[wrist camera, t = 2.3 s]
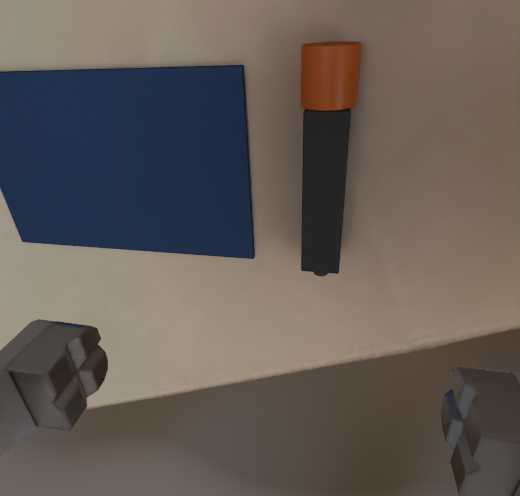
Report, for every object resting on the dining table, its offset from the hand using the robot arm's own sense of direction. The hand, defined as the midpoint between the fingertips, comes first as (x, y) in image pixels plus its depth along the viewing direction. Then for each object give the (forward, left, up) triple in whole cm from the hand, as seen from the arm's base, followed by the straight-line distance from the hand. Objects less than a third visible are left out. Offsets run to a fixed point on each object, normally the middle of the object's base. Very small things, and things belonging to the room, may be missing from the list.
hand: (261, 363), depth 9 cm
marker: (-1, +2, -18) cm, 18 cm away
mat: (+14, +2, -18) cm, 23 cm away
